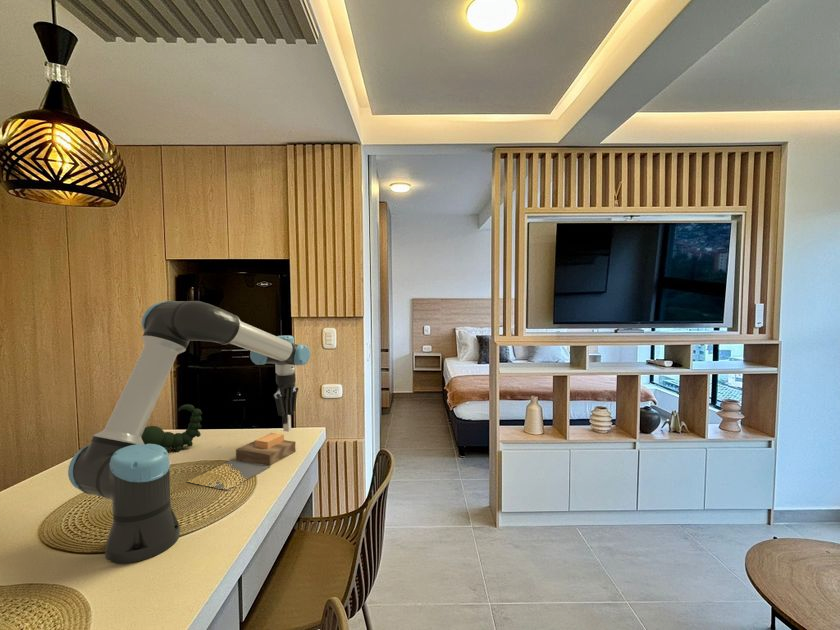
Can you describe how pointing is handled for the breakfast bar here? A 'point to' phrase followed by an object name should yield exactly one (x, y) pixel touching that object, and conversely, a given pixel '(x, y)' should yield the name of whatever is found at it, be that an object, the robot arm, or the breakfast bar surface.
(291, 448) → the walnut deck
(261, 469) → the charcoal mat
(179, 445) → the toy figurine
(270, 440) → the orange brown block
